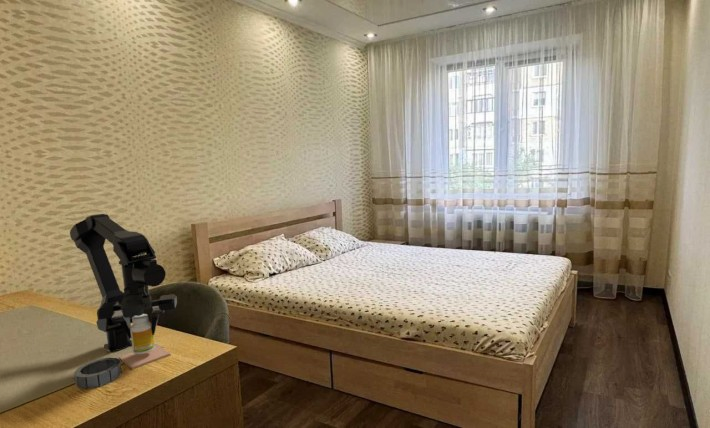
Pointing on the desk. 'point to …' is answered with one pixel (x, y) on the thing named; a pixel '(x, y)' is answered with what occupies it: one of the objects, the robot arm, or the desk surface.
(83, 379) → the grey segmented ring
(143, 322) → the supplement bottle
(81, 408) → the desk surface
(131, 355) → the terracotta pad
